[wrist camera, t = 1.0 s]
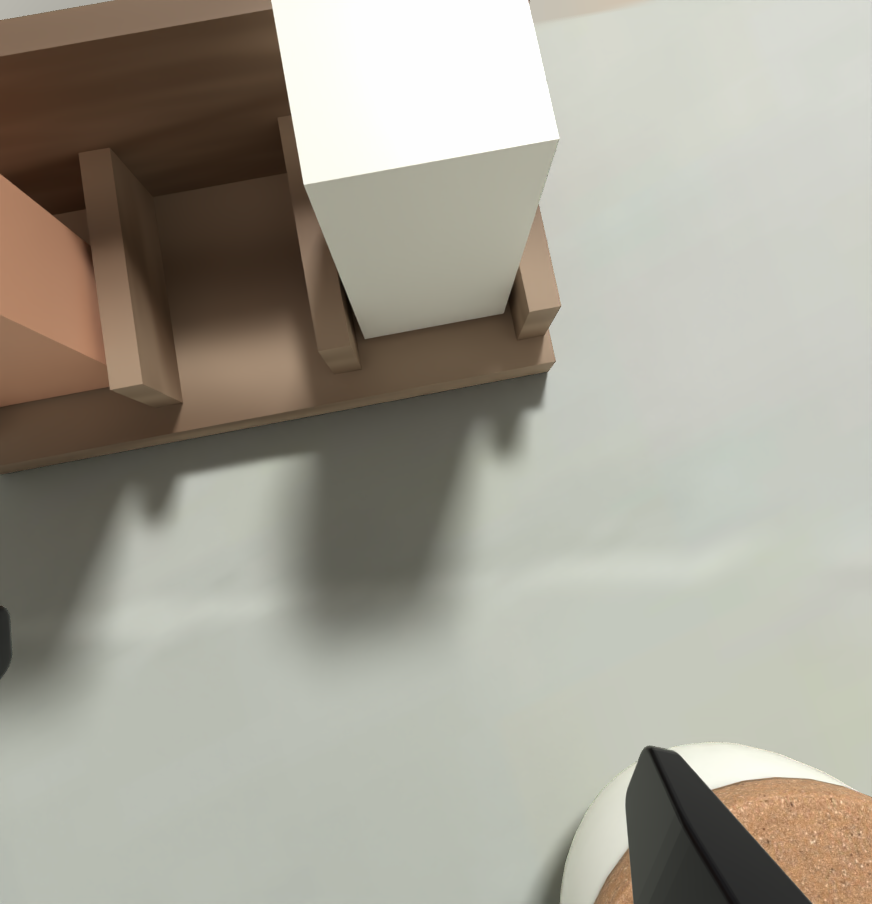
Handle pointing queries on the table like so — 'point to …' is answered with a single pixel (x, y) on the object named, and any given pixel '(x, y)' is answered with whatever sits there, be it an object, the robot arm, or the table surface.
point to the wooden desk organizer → (208, 237)
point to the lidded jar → (758, 809)
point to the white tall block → (419, 149)
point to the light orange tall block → (45, 305)
